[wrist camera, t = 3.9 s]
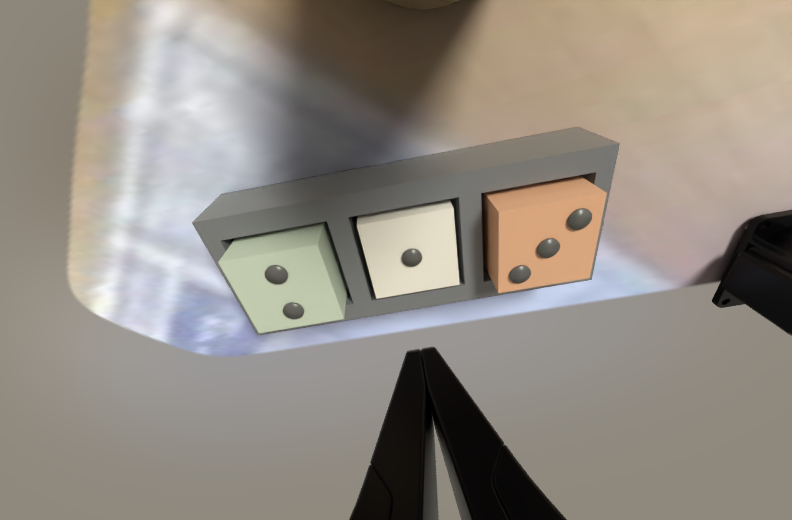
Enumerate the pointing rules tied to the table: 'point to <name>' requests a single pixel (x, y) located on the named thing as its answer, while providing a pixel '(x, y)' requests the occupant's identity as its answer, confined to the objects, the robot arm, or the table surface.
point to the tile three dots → (541, 232)
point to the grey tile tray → (407, 186)
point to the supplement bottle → (422, 3)
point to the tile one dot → (410, 248)
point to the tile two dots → (287, 277)
